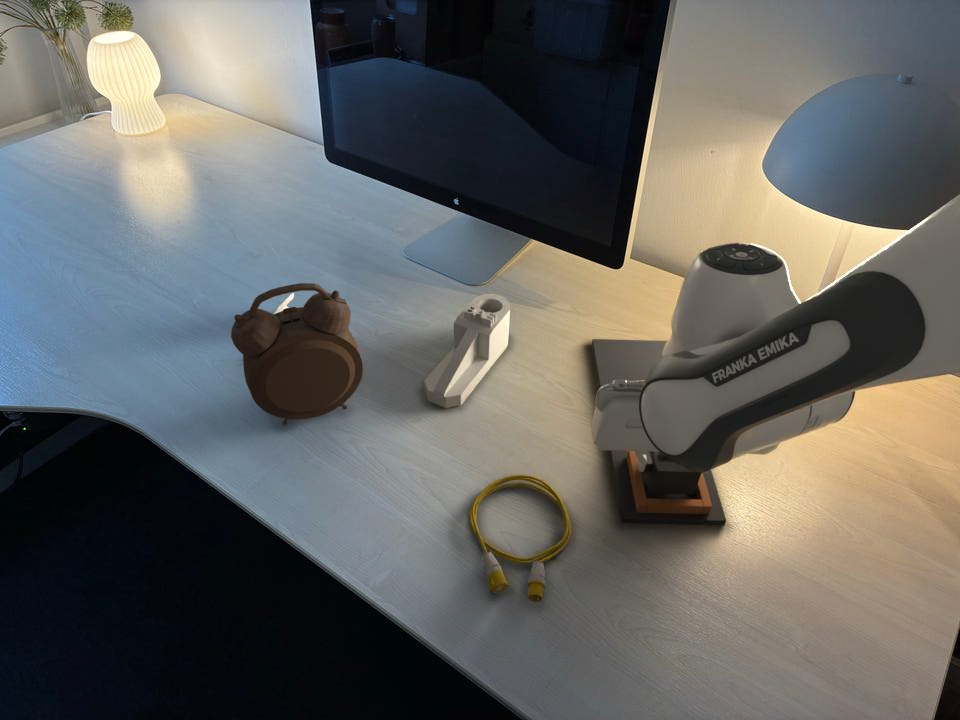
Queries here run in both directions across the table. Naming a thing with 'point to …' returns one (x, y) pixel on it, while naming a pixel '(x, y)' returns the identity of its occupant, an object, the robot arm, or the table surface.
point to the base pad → (631, 484)
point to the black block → (671, 476)
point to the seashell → (284, 304)
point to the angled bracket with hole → (470, 350)
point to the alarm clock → (299, 354)
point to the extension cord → (494, 569)
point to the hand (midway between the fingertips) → (671, 468)
